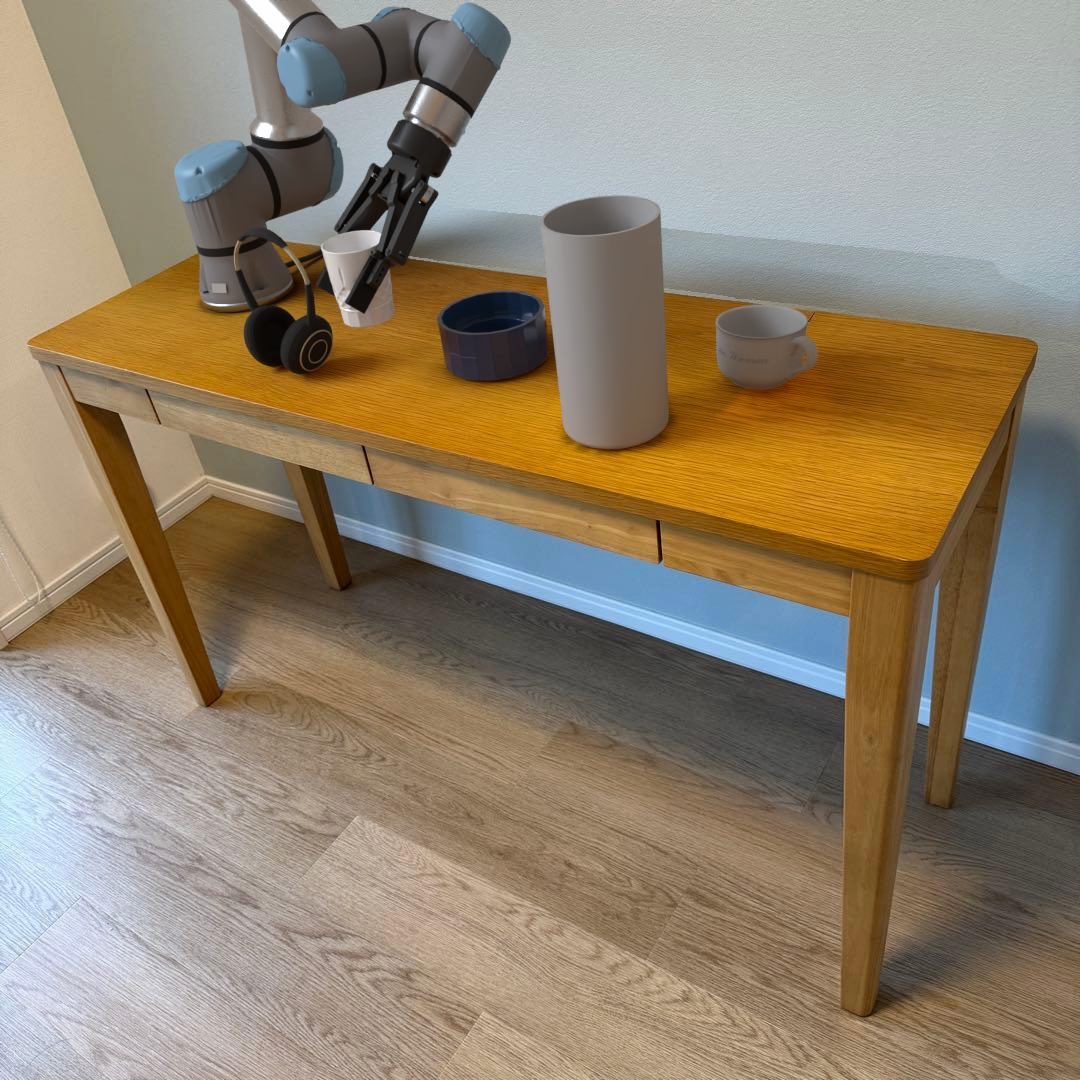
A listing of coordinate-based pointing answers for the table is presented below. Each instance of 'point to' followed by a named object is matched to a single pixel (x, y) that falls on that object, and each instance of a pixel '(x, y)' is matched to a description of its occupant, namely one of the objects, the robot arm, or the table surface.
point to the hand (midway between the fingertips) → (339, 299)
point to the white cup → (356, 276)
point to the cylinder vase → (608, 318)
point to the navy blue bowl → (494, 335)
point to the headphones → (284, 323)
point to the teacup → (763, 345)
